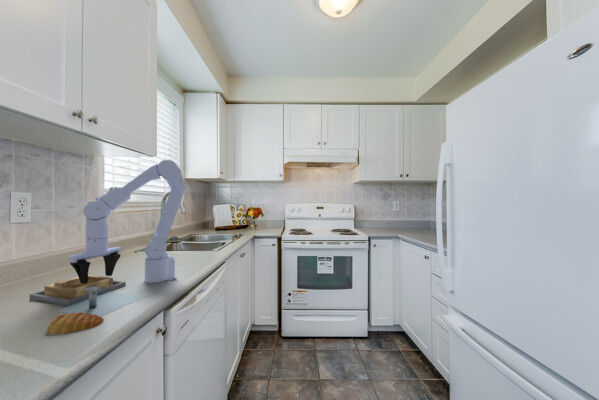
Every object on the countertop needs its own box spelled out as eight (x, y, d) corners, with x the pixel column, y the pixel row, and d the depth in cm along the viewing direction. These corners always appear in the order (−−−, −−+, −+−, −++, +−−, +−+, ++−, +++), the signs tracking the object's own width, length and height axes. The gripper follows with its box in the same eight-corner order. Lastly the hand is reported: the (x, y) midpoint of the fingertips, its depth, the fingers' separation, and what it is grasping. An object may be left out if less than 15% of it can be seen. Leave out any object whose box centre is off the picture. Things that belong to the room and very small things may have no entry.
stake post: (90, 305, 65) (90, 286, 65) (101, 307, 64) (101, 287, 64) (83, 308, 64) (84, 288, 64) (95, 310, 63) (95, 289, 63)
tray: (90, 283, 85) (90, 277, 85) (125, 288, 80) (125, 281, 80) (29, 302, 69) (29, 294, 69) (68, 309, 65) (68, 301, 65)
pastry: (109, 321, 60) (109, 305, 60) (93, 336, 53) (93, 319, 53) (63, 325, 57) (63, 309, 57) (40, 342, 51) (41, 324, 51)
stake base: (111, 294, 76) (111, 291, 76) (146, 299, 72) (146, 296, 72) (55, 314, 62) (55, 310, 62) (95, 322, 58) (95, 318, 58)
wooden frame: (87, 284, 82) (87, 270, 82) (112, 288, 79) (113, 273, 79) (44, 298, 71) (44, 281, 71) (71, 302, 68) (71, 285, 68)
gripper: (110, 234, 87) (110, 271, 87) (61, 240, 73) (61, 285, 73) (125, 235, 85) (125, 273, 85) (78, 242, 71) (78, 287, 71)
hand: (97, 279), depth 79 cm, fingers open, 7 cm apart
